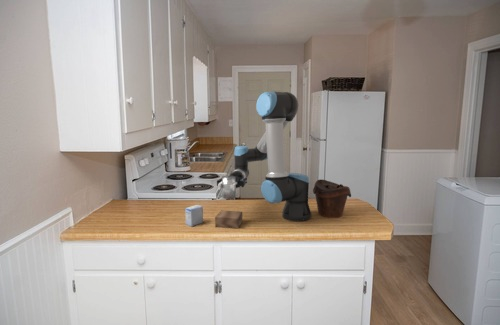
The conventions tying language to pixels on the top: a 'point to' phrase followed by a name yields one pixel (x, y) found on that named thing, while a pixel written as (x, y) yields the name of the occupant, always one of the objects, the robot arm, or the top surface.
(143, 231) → the top surface
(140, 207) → the top surface
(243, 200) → the top surface
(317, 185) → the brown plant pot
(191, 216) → the medicine box
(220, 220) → the walnut block
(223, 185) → the food tin
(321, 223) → the top surface
